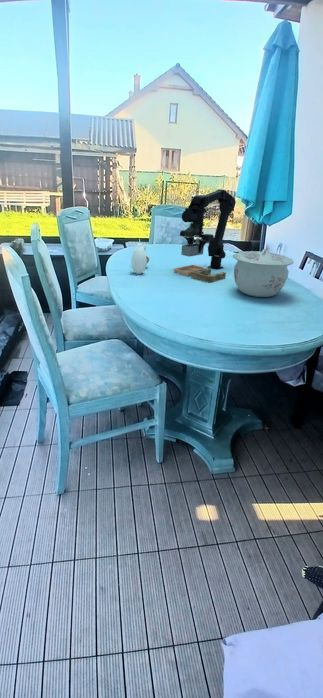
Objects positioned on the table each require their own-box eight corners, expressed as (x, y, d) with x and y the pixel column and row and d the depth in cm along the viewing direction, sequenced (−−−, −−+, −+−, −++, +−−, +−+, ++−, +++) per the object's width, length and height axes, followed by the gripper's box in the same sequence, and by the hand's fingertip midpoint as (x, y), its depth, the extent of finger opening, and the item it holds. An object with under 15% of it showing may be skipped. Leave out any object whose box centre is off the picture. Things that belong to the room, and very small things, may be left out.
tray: (192, 268, 220) (192, 264, 219) (206, 271, 214) (206, 268, 213) (173, 272, 208) (174, 268, 208) (188, 276, 203) (188, 272, 202)
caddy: (195, 252, 211) (196, 237, 207) (203, 254, 207) (204, 239, 204) (181, 254, 202) (182, 239, 199) (189, 256, 199) (190, 240, 196)
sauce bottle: (139, 276, 198) (140, 240, 190) (128, 273, 202) (128, 238, 194) (149, 273, 203) (150, 239, 196) (137, 271, 207) (138, 237, 200)
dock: (207, 273, 210) (208, 268, 209) (225, 278, 203) (225, 272, 202) (191, 278, 200) (191, 272, 198) (209, 282, 193) (209, 277, 192)
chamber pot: (244, 303, 165) (251, 255, 157) (219, 285, 189) (224, 243, 180) (299, 301, 173) (309, 255, 164) (269, 284, 197) (276, 243, 188)
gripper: (174, 220, 199) (172, 250, 206) (203, 224, 188) (200, 256, 195) (187, 219, 207) (184, 248, 214) (216, 223, 196) (212, 254, 203)
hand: (195, 251), depth 206 cm, fingers closed on caddy, 5 cm apart
